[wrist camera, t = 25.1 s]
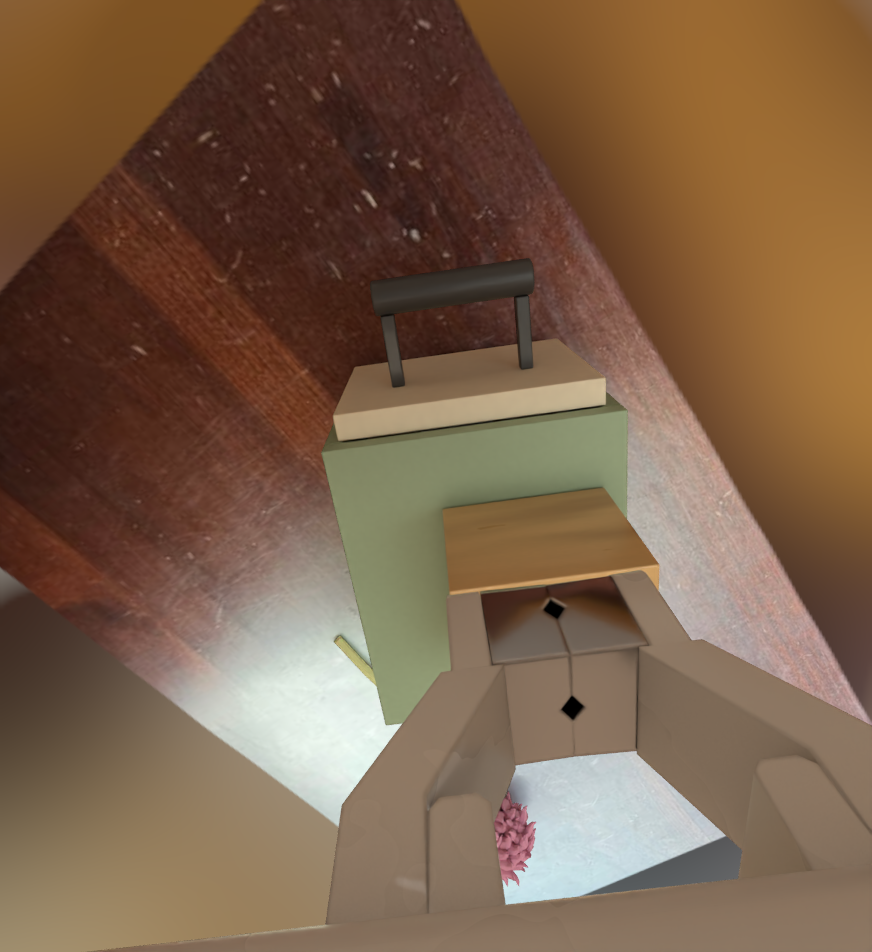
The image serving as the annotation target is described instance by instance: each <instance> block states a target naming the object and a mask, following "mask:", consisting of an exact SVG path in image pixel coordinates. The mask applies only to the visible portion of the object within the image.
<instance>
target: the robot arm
mask: <svg viewBox="0 0 872 952" xmlns="http://www.w3.org/2000/svg"><path fill="white" fill-rule="evenodd" d="M446 609H447V623H448V637H449V651H450V664H451V671H445V672H441V673H440V674H439V675H438V677H437V678H436V679H435V681H434V682H433V683H432V685H431V686H430V687H429V689H428V690H427V691H426V693H425V694H424V695H423V697H422V698H421V700H420V701H419V702H418V704H417V705H416V706H415V708H414V709H413V710H412V712H411V713H410V714H409V716H408V717H407V718H406V720H405V721H404V722H403V724H402V725H401V726H400V728H399V729H398V730H397V732H396V733H395V734H394V736H393V737H392V738H391V740H390V741H389V742H388V744H387V745H386V746H385V748H384V749H383V751H382V752H381V753H380V755H379V756H378V757H377V759H376V760H375V761H374V763H373V764H372V765H371V767H370V768H369V769H368V771H367V772H366V773H365V775H364V776H363V777H362V779H361V780H360V781H359V783H358V784H357V785H356V787H355V788H354V789H353V791H352V792H351V793H350V795H349V796H348V798H347V799H346V800H345V802H344V803H343V804H342V808H341V815H340V823H339V830H338V837H337V844H336V852H335V859H334V866H333V874H332V881H331V888H330V895H329V902H328V909H327V917H326V924H325V925H321V926H312V927H304V928H294V929H285V930H276V931H267V932H259V933H250V934H241V935H232V936H223V937H214V938H205V939H197V940H187V941H178V942H170V943H161V944H152V945H143V946H134V947H126V948H116V949H108V950H98V951H90V952H872V726H871V725H869V724H867V723H865V722H863V721H862V720H860V719H858V718H856V717H854V716H852V715H850V714H848V713H846V712H844V711H842V710H840V709H838V708H836V707H834V706H832V705H830V704H828V703H826V702H824V701H822V700H820V699H818V698H816V697H814V696H812V695H811V694H809V693H807V692H805V691H803V690H801V689H799V688H797V687H795V686H793V685H791V684H789V683H787V682H785V681H783V680H781V679H779V678H777V677H775V676H773V675H771V674H769V673H767V672H765V671H763V670H761V669H760V668H758V667H756V666H754V665H752V664H750V663H748V662H746V661H744V660H742V659H740V658H738V657H736V656H734V655H732V654H730V653H728V652H726V651H724V650H722V649H720V648H718V647H716V646H714V645H712V644H710V643H708V642H707V641H705V640H703V639H701V640H691V639H690V637H689V636H688V634H687V633H686V631H685V630H684V628H683V627H682V625H681V624H680V622H679V621H678V619H677V618H676V616H675V615H674V613H673V612H672V610H671V609H670V607H669V606H668V604H667V603H666V602H665V600H664V599H663V597H662V596H661V594H660V593H659V591H658V590H657V588H656V587H655V585H654V584H653V582H652V581H651V579H650V578H649V576H648V575H647V573H646V572H644V571H642V570H637V571H631V572H624V573H618V574H612V575H608V576H606V577H598V578H591V579H584V580H576V581H569V582H562V583H554V584H547V585H544V584H542V585H533V586H523V587H514V588H505V589H495V590H486V591H480V594H479V592H478V591H477V592H469V593H462V594H454V595H447V598H446ZM629 751H637V754H638V755H639V756H640V757H641V758H642V759H643V760H644V761H645V762H646V763H647V764H649V765H650V766H651V767H652V768H653V769H654V770H655V771H656V772H657V773H658V774H660V775H661V776H662V777H663V778H664V779H665V780H666V781H667V782H668V783H669V784H670V785H672V786H673V787H674V788H675V789H676V790H677V791H678V792H679V793H680V794H681V795H682V796H684V797H685V798H686V799H687V800H688V801H689V802H690V803H691V804H692V805H693V806H695V807H696V808H697V809H698V810H699V811H700V812H701V813H702V814H703V815H704V816H705V817H707V818H708V819H709V820H710V821H711V822H712V823H713V824H714V825H715V826H716V827H717V828H719V829H720V830H721V831H722V832H723V833H724V834H725V835H726V836H727V837H728V838H730V839H731V840H732V841H733V842H734V843H735V844H736V845H737V846H738V847H739V848H740V849H742V856H741V863H740V870H739V876H738V879H733V880H724V881H715V882H706V883H697V884H688V885H679V886H670V887H661V888H652V889H643V890H634V891H625V892H616V893H607V894H598V895H589V896H580V897H571V898H562V899H553V900H544V901H535V902H526V903H517V904H508V905H506V904H505V897H504V890H503V883H502V876H501V868H500V861H499V854H498V847H497V840H496V833H495V826H494V822H495V819H496V817H497V814H498V812H499V809H500V807H501V804H502V802H503V799H504V797H505V794H506V792H507V789H508V787H509V785H510V782H511V780H512V777H513V775H514V772H515V770H516V768H515V765H521V764H528V763H534V762H541V761H548V760H554V759H561V758H568V757H574V756H586V755H596V754H607V753H618V752H629Z"/></svg>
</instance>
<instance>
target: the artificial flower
mask: <svg viewBox="0 0 872 952" xmlns="http://www.w3.org/2000/svg"><path fill="white" fill-rule="evenodd" d="M334 643H335V644H336V645H337V646H338V647H339V648H340V649H341V650H342V651H343V652H344V653H345V654H346V655H347V656H348V658H349V659H350V660H351V661H352V662H353V663H354V664H355V665H356V666H357V667H358V668H359V669H360V670H361V671H362V673H363V674H364V675H365V676H366V677H367V678H369V679H370V680H371V681H372V682H373V683H374V684H375V685H376V681H375V677H374V673H373V670H372V669H371V668H370V667H369V666H368V665H367V664H366V662H365V661H364V660H363V659H362V658H361V657H360V656H359V655H358V654H357V653H356V652H355V651H354V650H353V649H352V648H351V647H350V646H349V644H348V643H347V642H346V641H345V640H344V639H343V638H342V637H341V636H339V637H338V638H337V639H336V640H335V641H334ZM518 804H519V803H518ZM518 804H517V802H516V803H514V804H513V803H512V801H511V799H510V794H509V791H508V793H507V796H506V797H505V798H504V799H503V802H502V804H501V807H500V809H499V812H498V814H497V817H496V819H495V822H494V826H495V833H496V840H497V847H498V854H499V861H500V868H501V876H502V880H504V881H505V883H506V885H507V887H508V879H507V878H509V879H512V880H513V881H516V882H517V884H518V886H519V879H518V877H517V875H516V874H515V873H514V872H513V871H514V870H522V871H524V872H525V870H524V868H523V867H528V866H527V865H526V864H525V863H524V861H526V860H527V859H528V858H531V853H530V852H531V850H532V849H533V847H534V846H533V844H534V840H535V837H534V834H535V830H536V828H535V829H534V830H533V825H534V824H535V823H536V822H531V823H530V824H528V825H527V823H526V821H527V819H528V814H527V812H526V809H527V806H525V807H524V808H523V809H522V811H521V805H522V804H520V805H519V806H518Z"/></svg>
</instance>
